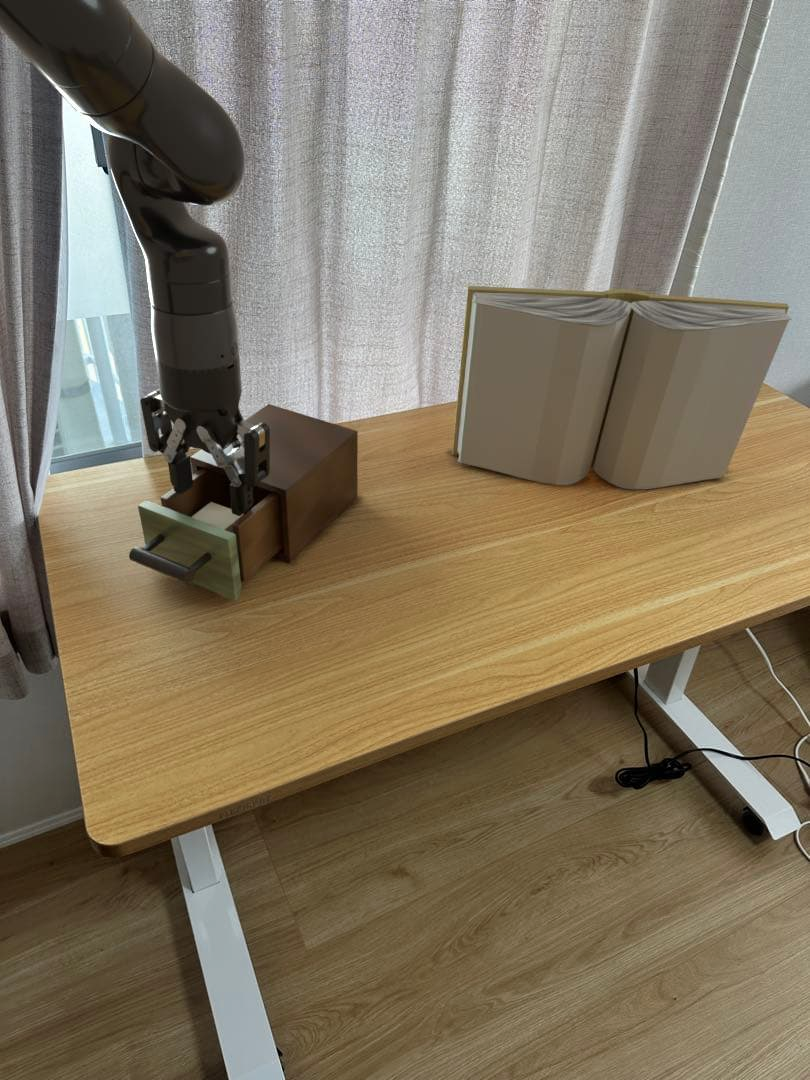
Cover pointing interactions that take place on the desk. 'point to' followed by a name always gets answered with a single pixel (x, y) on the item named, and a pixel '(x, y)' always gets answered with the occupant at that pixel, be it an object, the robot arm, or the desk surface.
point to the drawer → (209, 536)
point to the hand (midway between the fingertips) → (212, 500)
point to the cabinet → (302, 473)
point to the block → (217, 516)
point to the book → (609, 383)
